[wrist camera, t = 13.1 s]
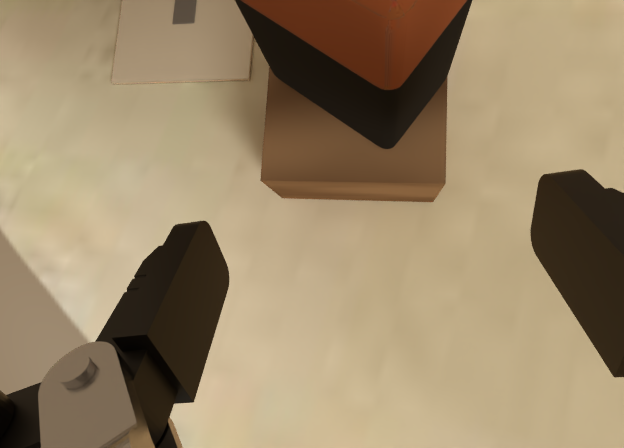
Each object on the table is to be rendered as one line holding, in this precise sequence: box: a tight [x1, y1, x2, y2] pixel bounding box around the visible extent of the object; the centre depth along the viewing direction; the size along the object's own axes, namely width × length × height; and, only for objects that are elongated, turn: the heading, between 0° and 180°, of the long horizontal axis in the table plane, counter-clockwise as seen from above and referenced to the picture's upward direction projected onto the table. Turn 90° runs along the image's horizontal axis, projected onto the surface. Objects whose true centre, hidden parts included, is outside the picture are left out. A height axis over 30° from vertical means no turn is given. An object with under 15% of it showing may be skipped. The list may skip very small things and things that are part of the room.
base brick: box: [261, 68, 447, 202], centre depth 19 cm, size 10×8×4 cm
